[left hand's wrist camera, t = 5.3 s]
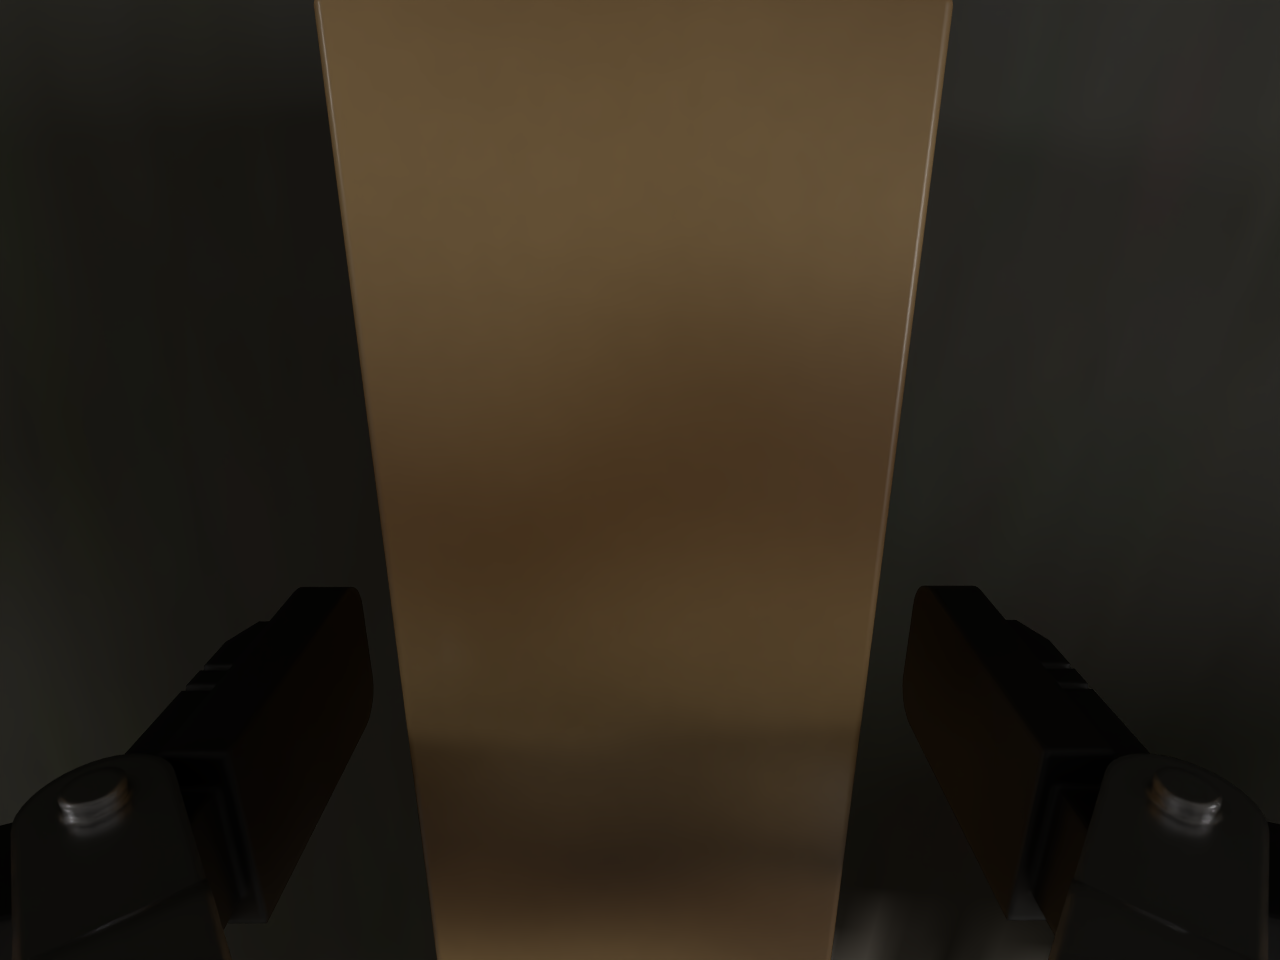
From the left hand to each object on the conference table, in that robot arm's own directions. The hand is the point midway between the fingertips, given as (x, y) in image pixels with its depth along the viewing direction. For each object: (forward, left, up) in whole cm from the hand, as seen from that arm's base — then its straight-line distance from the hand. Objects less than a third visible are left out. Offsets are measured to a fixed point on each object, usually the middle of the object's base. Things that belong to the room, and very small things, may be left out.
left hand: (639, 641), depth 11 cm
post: (+15, +11, -5) cm, 19 cm away
